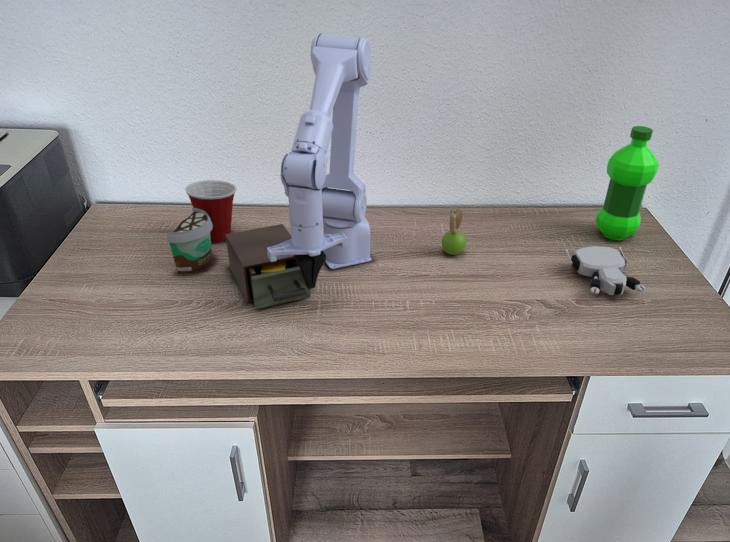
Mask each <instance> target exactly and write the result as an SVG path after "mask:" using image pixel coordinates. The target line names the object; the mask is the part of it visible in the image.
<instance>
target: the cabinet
mask: <svg viewBox="0 0 730 542" xmlns="http://www.w3.org/2000/svg"><path fill="white" fill-rule="evenodd" d="M225 236H226V241H225V242H226V247H227V248H226V250H227V257H228V263H229V270H230V271H231V273H232V275H233V277H234V279H235V280H236V283H237V285H238V286H239V288H240V290H241V292H242V294H243V296H244V298H245V300H246V302H247V303H248V304H249V303H254V299H253V297H252V295H251V293H250V292H249V286H248V277H247V268H252V267H256V266H261V265H266V264H271V263H276V262H281V261H286V260H291V259H295V258H294V256H289V257H284V258H279V259H277V261H274V262H271V261H270V260H269V258H268V253H267V248H268V247H272V246H275V245H278V244H280V243H283V242H285V241H288V240H290V239H291V232H290V231H288V229H287V228H286V226H285V225H284V224H283V223H280V224H274V225H269V226H268V225H267V226H264V227H258V228H252V229H247V230H242V231H235V232H231V233H230V234H225Z"/></svg>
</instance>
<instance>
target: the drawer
mask: <svg viewBox="0 0 730 542" xmlns="http://www.w3.org/2000/svg"><path fill="white" fill-rule="evenodd" d="M261 268H262V265H261V266H256V267H252V268H247V277H248V286H249V292H250V293H251V295H252V297H253V299H254V302H253V304H254V308H255V309H256V310H259V309H262V308H263V309H264V308H268V307H272V306H276V305H280V304H284V303H285V304H286V303H289V302H294V301H298V300H302V299H306V298H310V297H312V296H311V295H312V294H311V289H308V288H307V286H306V285H305V281H304V278H303V275H302V272H301V270H300V267H299V265H298V263H297V262H296V260H295V259H291V260H286V269H285V270H280V271H275V272H270V273H266V274H261Z"/></svg>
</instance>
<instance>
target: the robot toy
mask: <svg viewBox="0 0 730 542" xmlns="http://www.w3.org/2000/svg"><path fill="white" fill-rule="evenodd" d="M565 253H566V256H567V258H568V261H569V265H570V266H571V267H572V268H573V269H574V271H577V273H578V274H579V275H582V276H585V277H589V278H591V279H592V280H591V281H590V284H589V292H590V294H595V295H598V294H599V293H600V291H601V292H602V293H605V294H607V295H609V296H610V295H611V296H614V295H616V296H619V295H621V296H622V295H623V294H624V293H625V289H626V287H627V288H629V289H630V290H632V291H636V292H639V293H641V292H644V291H645V290H646V287H645V286H644V285H643V284H641V281H640V280H638V279H637V278H636V277H634V276H626V275H625V272H624V269H625V268H626V266H627V261H628V259H627V258H626V257H625V255H624V252H623V250H622V247H621V246H618V249H616V248H613V247H608V246H597V245H593V246H586V247H581V248H579V249H575V251H573V254H572V255H571V256H570V254H569V250H568V249H567V248H566V249H565Z"/></svg>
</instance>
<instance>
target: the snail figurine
mask: <svg viewBox="0 0 730 542" xmlns="http://www.w3.org/2000/svg"><path fill="white" fill-rule="evenodd" d="M449 211H450V214H449V230H448V231H446V232H445V233H444V235H443V236H442V237H441V242H440V243H441V248H442V250H443V252H445V253H446V254H448V255H451V256H456V255H459V254H461V253H463V252H464V251H465V249H466V247H467V243H468V241H467V238H466V235H465V234H464V233H463V232H462V231H460V227H461V224H462V221H463V211H462V209H461V208H456V209H453V208H450V210H449Z"/></svg>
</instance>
